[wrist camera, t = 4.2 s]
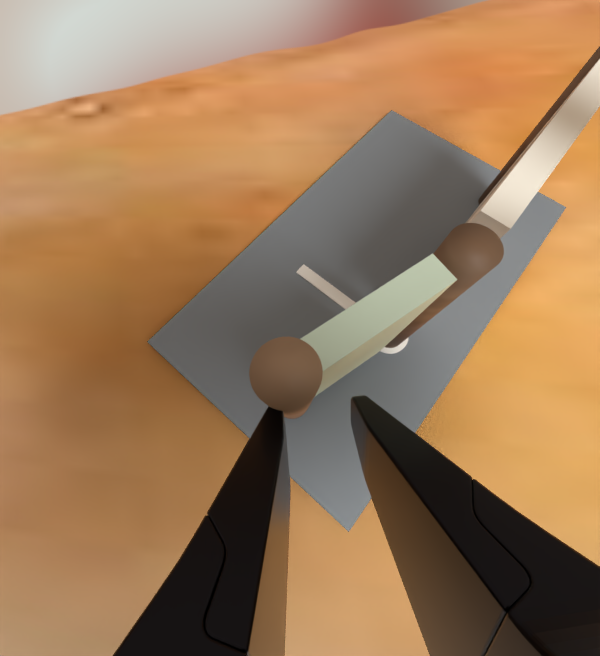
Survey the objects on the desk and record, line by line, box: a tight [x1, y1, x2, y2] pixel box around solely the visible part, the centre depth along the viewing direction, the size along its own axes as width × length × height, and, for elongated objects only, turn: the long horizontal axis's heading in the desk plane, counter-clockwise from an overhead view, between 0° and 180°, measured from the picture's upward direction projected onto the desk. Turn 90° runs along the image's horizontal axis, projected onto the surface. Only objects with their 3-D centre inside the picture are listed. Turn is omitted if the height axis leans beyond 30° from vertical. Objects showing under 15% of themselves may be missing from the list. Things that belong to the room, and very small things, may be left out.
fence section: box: [385, 47, 600, 348], centre depth 14 cm, size 14×2×8 cm, turn 140°
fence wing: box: [249, 254, 457, 419], centre depth 11 cm, size 6×2×8 cm, turn 124°
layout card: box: [147, 110, 566, 532], centre depth 18 cm, size 24×14×1 cm, turn 140°
